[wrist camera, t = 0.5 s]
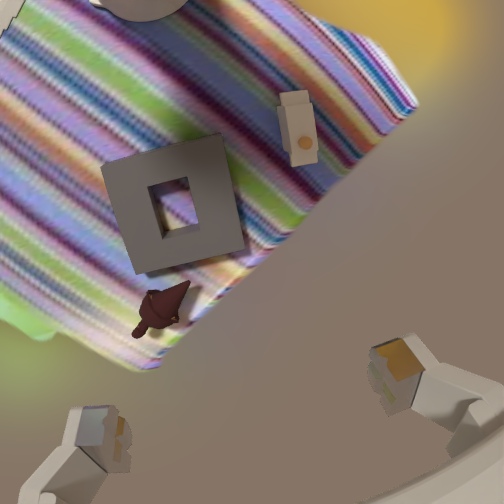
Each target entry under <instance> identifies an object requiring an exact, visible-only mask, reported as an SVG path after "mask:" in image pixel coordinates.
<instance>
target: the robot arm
mask: <svg viewBox="0 0 504 504" xmlns="http://www.w3.org/2000/svg"><path fill="white" fill-rule="evenodd" d="M89 1H90V3H91V4H92V5H94V6H98V7H103V8H107V9H108V10H110V11H111V12H112V13H113V14H115V15H116V16H118V17H120V18H122V19H125V20H128V21H134V22H146V21H152V20H157V19H160V18H163V17H165V16H167V15H170V14H171V13H173V12H175V11H176V10H178V9H179V8H180V7H182V6H183V5H184V4H185V3H186V2H187V1H188V0H89ZM369 357H370V359H371V360H372V361H371V362H370V363H369V365H368V370H367V373H368V379H369V382H370V385H371V387H372V389H373V391H374V392H376V393H378V394H380V395H381V398H380V403H381V405H382V406H383V408H384V410H385V412H386V414H387V415H388V416H391V415H393V414H396V413H398V412H401V411H403V410H406V409H408V408H411V409H413V410H414V411H416V412H418V413H419V414H421V415H423V416H425V417H426V418H428V419H430V420H432V421H433V422H435V423H437V424H439V425H440V426H442V427H444V428H446V429H448V430H449V431H451V432H453V435H452V436H451V438H450V440H449V441H448V443H447V445H446V450H447V452H448V453H449V455H450V457H451V459H450V460H448V461H447V462H445V463H443V464H441V465H439V466H437V467H435V468H434V469H432V470H430V471H428V472H426V473H424V474H422V475H420V476H418V477H416V478H414V479H412V480H410V481H408V482H405V483H403V484H401V485H399V486H397V487H394V488H392V489H390V490H387V491H385V492H383V493H380V494H378V495H375V496H373V497H370V498H368V499H365V500H362V501H360V502H357V503H354V504H504V386H503V385H502V384H500V383H498V382H495V381H492V380H489V379H487V378H484V377H481V376H479V375H476V374H473V373H470V372H468V371H465V370H463V369H460V368H457V367H454V366H452V365H449V364H447V363H441V364H440V363H439V362H438V361H437V360H436V358H435V357H434V356H433V354H432V353H431V352H430V351H429V350H428V348H427V347H426V346H425V345H424V344H423V343H422V341H421V340H420V339H419V338H418V336H417V335H416V334H415V333H413V332H411V333H409V334H407V335H404V336H401V337H399V338H395V339H392V340H390V341H387V342H384V343H382V344H379V345H377V346H374V347H371V349H370V350H369ZM118 413H119V411H118V409H117V408H116V407H115V406H114V405H101V406H83V407H72V409H71V410H70V412H69V416H68V420H67V424H66V428H65V432H64V437H63V441H62V445H61V446H58V447H57V448H56V449H55V450H54V451H53V452H52V453H51V455H50V456H49V457H48V458H47V459H46V460H45V461H44V462H43V463H42V464H41V466H40V467H39V468H38V469H37V470H36V471H35V472H34V473H33V475H32V476H31V477H30V478H29V479H28V480H27V481H26V482H25V483H24V485H23V486H22V487H21V490H20V495H19V500H18V504H90V503H91V501H92V500H93V498H94V496H95V495H96V493H97V492H98V490H99V488H100V487H101V485H102V484H103V482H104V480H105V479H106V477H107V476H108V474H107V473H128V472H130V463H131V455H130V454H129V452H128V451H127V450H128V449H129V447H130V446H131V445H132V434H131V429H130V426H129V424H128V422H127V421H126V420H125V419H124V418H122V417H120V416H118Z"/></svg>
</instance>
